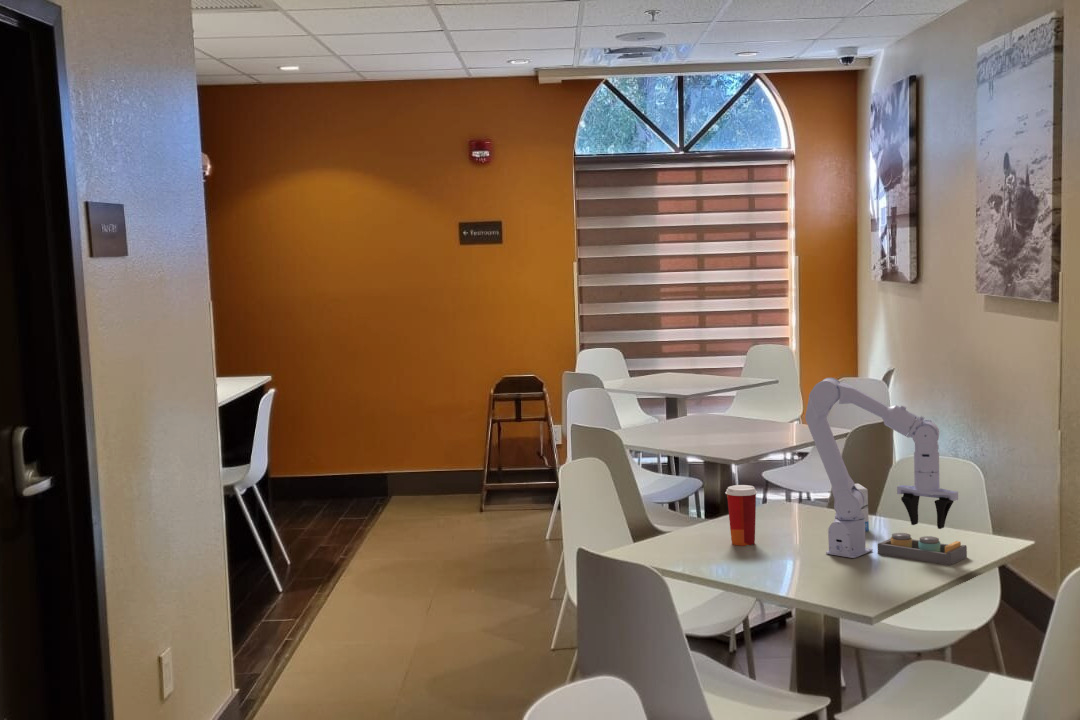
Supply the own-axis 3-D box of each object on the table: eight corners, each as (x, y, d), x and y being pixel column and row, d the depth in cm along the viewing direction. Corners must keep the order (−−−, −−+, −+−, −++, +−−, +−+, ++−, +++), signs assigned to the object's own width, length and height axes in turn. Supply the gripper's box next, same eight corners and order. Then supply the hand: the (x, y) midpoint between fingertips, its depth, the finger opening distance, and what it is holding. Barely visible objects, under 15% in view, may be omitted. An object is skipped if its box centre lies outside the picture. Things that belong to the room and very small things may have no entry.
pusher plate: (949, 563, 240) (948, 547, 240) (945, 562, 241) (944, 546, 241) (961, 557, 244) (960, 541, 244) (956, 557, 245) (956, 541, 245)
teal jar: (936, 560, 244) (935, 541, 243) (915, 557, 247) (915, 539, 247) (943, 555, 247) (943, 537, 247) (923, 553, 251) (922, 535, 250)
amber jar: (906, 556, 249) (906, 538, 248) (887, 553, 252) (886, 535, 252) (916, 552, 252) (915, 534, 252) (897, 549, 256) (896, 531, 255)
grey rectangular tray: (950, 565, 238) (950, 552, 238) (877, 553, 252) (877, 541, 252) (967, 557, 245) (966, 545, 244) (895, 546, 258) (895, 534, 258)
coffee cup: (757, 539, 272) (755, 484, 271) (760, 546, 264) (758, 489, 263) (725, 539, 273) (723, 485, 272) (728, 547, 265) (726, 490, 264)
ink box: (869, 531, 275) (868, 488, 275) (851, 532, 275) (850, 489, 275) (860, 524, 284) (859, 482, 283) (842, 524, 284) (841, 483, 283)
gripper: (963, 471, 243) (964, 527, 244) (906, 465, 254) (907, 519, 255) (950, 475, 238) (951, 532, 239) (892, 469, 249) (893, 524, 250)
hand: (927, 526), depth 247 cm, fingers open, 6 cm apart
